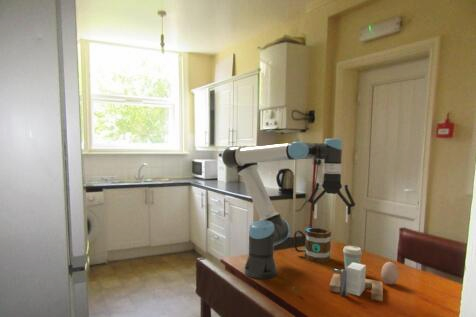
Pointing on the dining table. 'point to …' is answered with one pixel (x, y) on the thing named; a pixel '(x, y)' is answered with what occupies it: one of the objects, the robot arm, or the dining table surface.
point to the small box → (355, 278)
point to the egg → (389, 273)
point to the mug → (316, 244)
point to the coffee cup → (351, 255)
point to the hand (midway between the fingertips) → (330, 220)
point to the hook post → (342, 281)
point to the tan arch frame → (369, 284)
